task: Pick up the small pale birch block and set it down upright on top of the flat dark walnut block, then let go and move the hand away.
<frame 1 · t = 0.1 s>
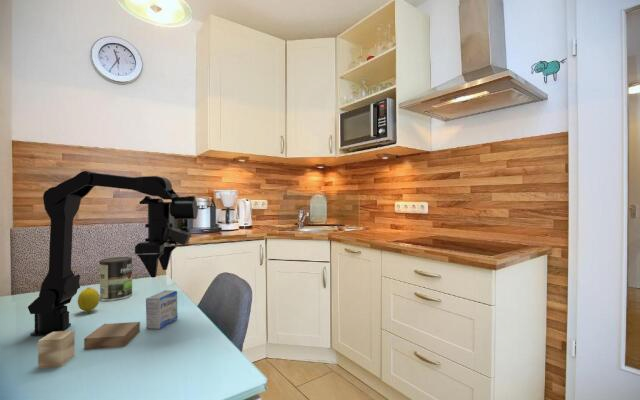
hand: (159, 273, 90), 15 cm above the table, tool pointing down, fingers open, 9 cm apart
medicine box: (162, 324, 91), on the table
lemon: (88, 312, 100), on the table
birch block: (57, 362, 69), on the table
coffee can: (116, 297, 116), on the table
walnut block: (113, 341, 80), on the table
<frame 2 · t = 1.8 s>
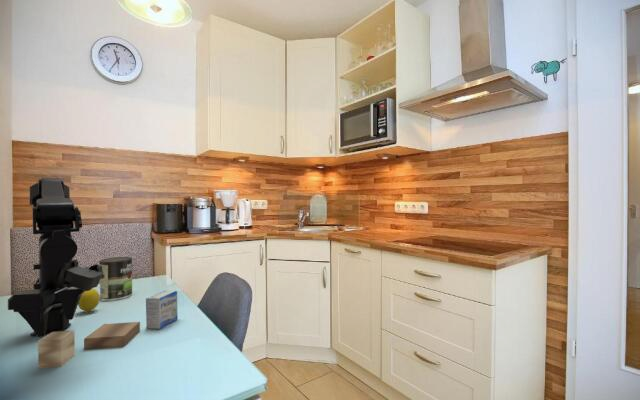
hand: (56, 327, 70), 8 cm above the table, tool pointing down, fingers open, 9 cm apart
nothing on the table moved.
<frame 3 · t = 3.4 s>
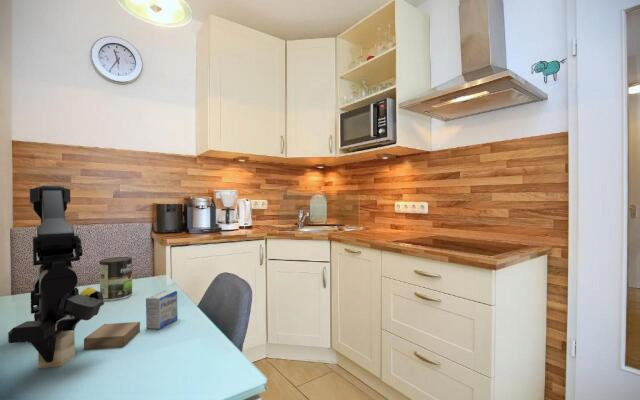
hand: (57, 356, 69), 1 cm above the table, tool pointing down, fingers closed on birch block, 4 cm apart
birch block: (57, 361, 69), on the table, touching gripper
everything else where it was.
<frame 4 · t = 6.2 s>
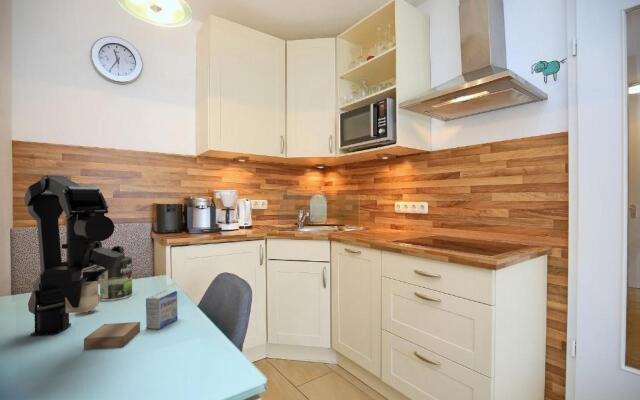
hand: (82, 303, 74), 11 cm above the table, tool pointing down, fingers closed on birch block, 4 cm apart
birch block: (82, 309, 74), point 10 cm above the table, touching gripper
everything else where it was.
when the fingers open (5 cm above the table, at t = 9.0 s): birch block drops 2 cm, point 2 cm above the table.
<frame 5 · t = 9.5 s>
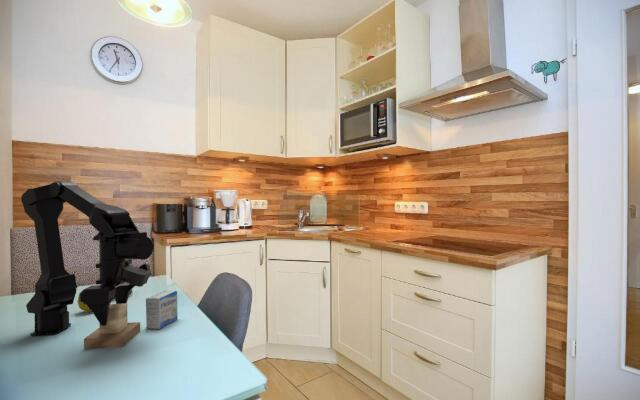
hand: (113, 318, 80), 5 cm above the table, tool pointing down, fingers open, 9 cm apart
birch block: (114, 329, 80), point 2 cm above the table
everything else where it was.
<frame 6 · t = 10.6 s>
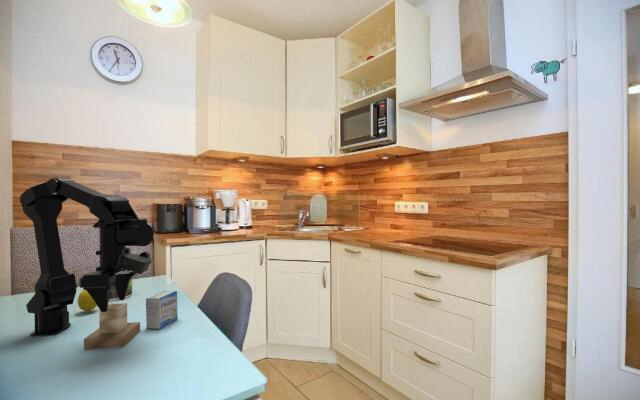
hand: (113, 305, 80), 9 cm above the table, tool pointing down, fingers open, 9 cm apart
birch block: (113, 329, 80), point 3 cm above the table, touching walnut block
walnut block: (113, 341, 80), on the table, touching birch block
everything else where it was.
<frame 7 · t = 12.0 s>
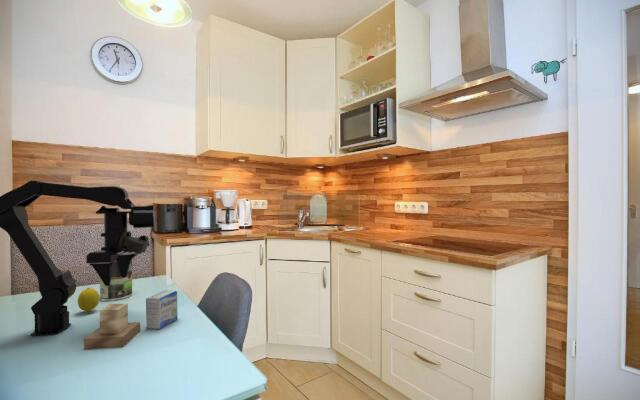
hand: (116, 281, 92), 12 cm above the table, tool pointing down, fingers open, 9 cm apart
nothing on the table moved.
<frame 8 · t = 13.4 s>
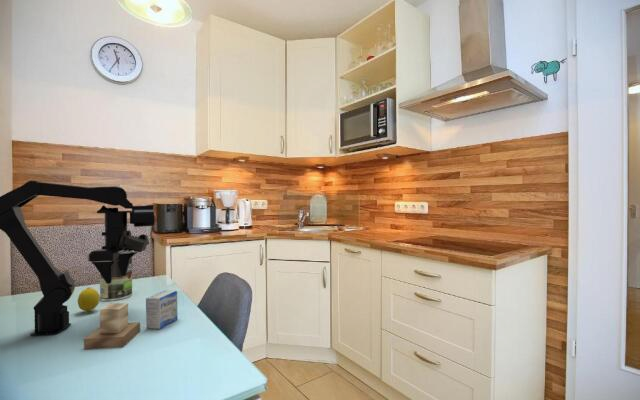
hand: (116, 279, 94), 12 cm above the table, tool pointing down, fingers open, 9 cm apart
birch block: (114, 329, 80), point 3 cm above the table
walnut block: (113, 341, 80), on the table
everything else where it was.
at the end: birch block 0.1 cm off-centre on the walnut block, point 3.0 cm above the walnut block's base; birch block tilted 0°; birch block touching walnut block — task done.
